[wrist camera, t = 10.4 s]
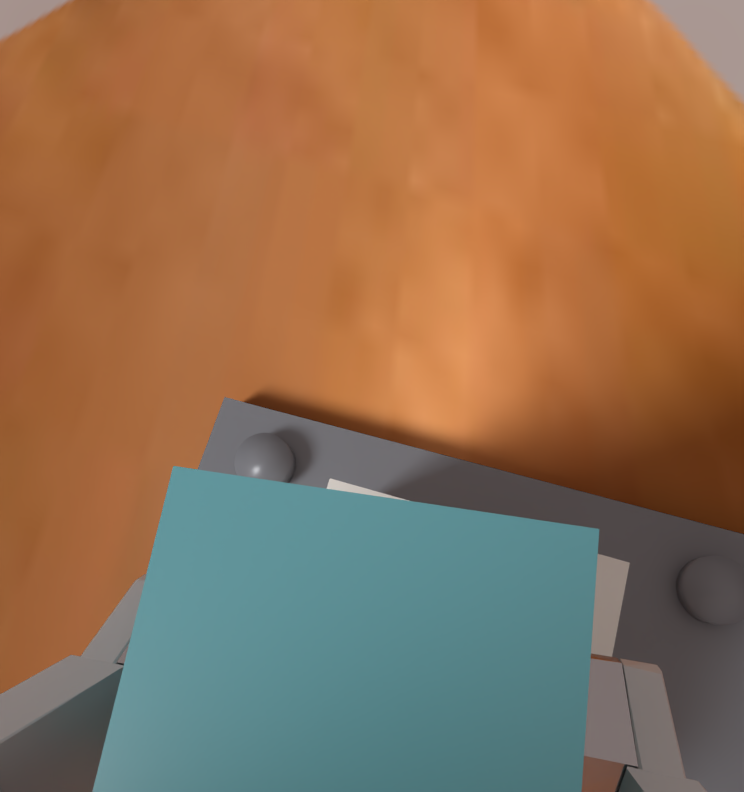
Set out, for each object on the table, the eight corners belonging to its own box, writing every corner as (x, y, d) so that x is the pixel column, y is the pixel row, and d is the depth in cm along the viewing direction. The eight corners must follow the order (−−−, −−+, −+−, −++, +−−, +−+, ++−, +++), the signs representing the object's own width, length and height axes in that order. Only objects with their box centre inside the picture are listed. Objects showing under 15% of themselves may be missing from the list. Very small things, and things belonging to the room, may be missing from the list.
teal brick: (498, 804, 13) (560, 1091, 5) (276, 756, 14) (52, 951, 6) (522, 568, 14) (599, 528, 7) (316, 535, 15) (174, 465, 7)
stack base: (727, 1012, 19) (850, 1198, 13) (104, 760, 23) (-20, 813, 17) (786, 553, 22) (905, 532, 16) (234, 406, 26) (169, 347, 20)
